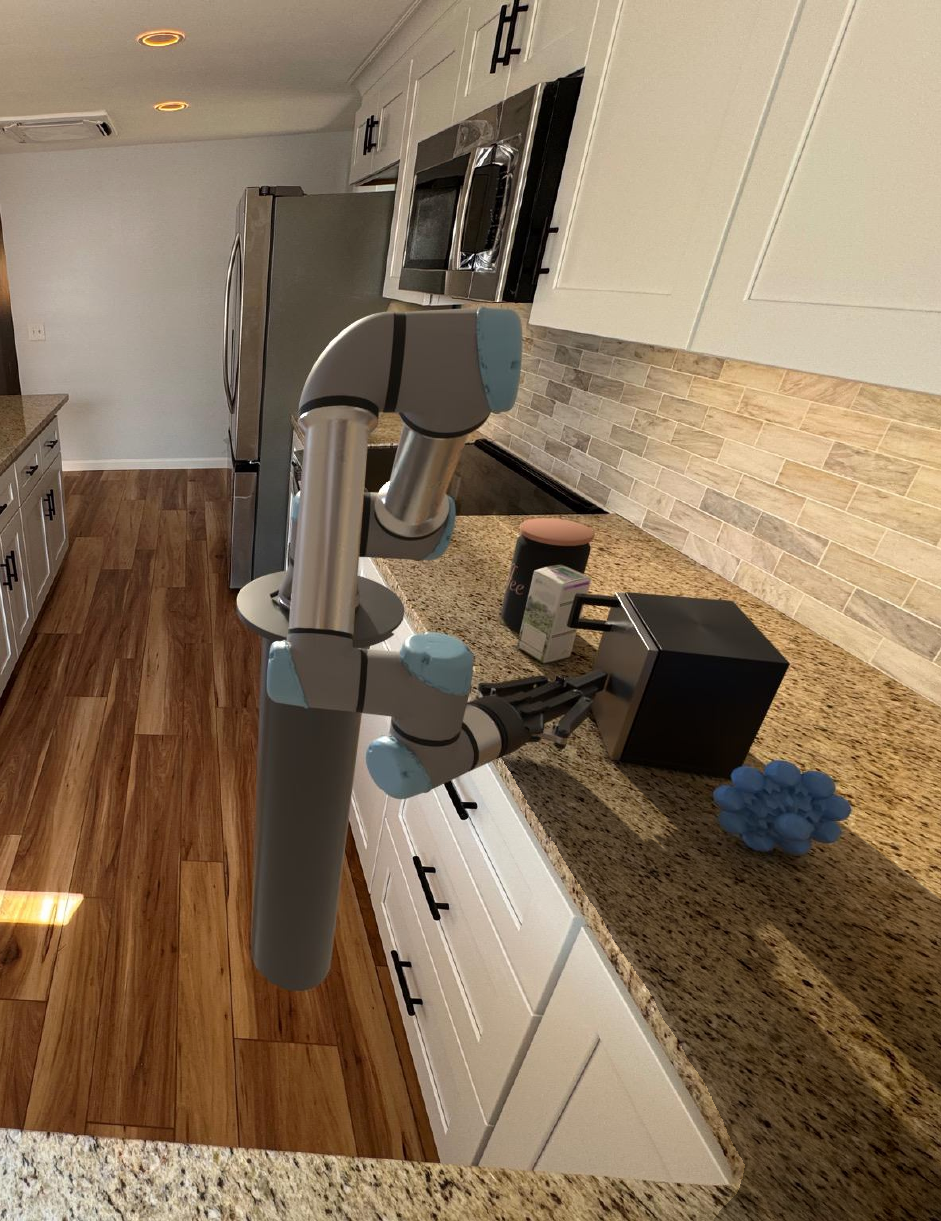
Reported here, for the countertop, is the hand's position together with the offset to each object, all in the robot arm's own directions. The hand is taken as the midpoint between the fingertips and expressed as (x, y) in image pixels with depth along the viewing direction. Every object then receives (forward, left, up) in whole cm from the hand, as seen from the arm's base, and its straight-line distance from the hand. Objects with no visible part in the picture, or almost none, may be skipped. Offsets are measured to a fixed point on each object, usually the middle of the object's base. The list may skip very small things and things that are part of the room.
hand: (600, 679), depth 92 cm
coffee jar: (-3, +28, -7) cm, 29 cm away
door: (-1, -1, -6) cm, 7 cm away
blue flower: (+12, -22, -7) cm, 26 cm away
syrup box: (-3, +18, -7) cm, 19 cm away
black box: (+8, -1, -6) cm, 10 cm away
